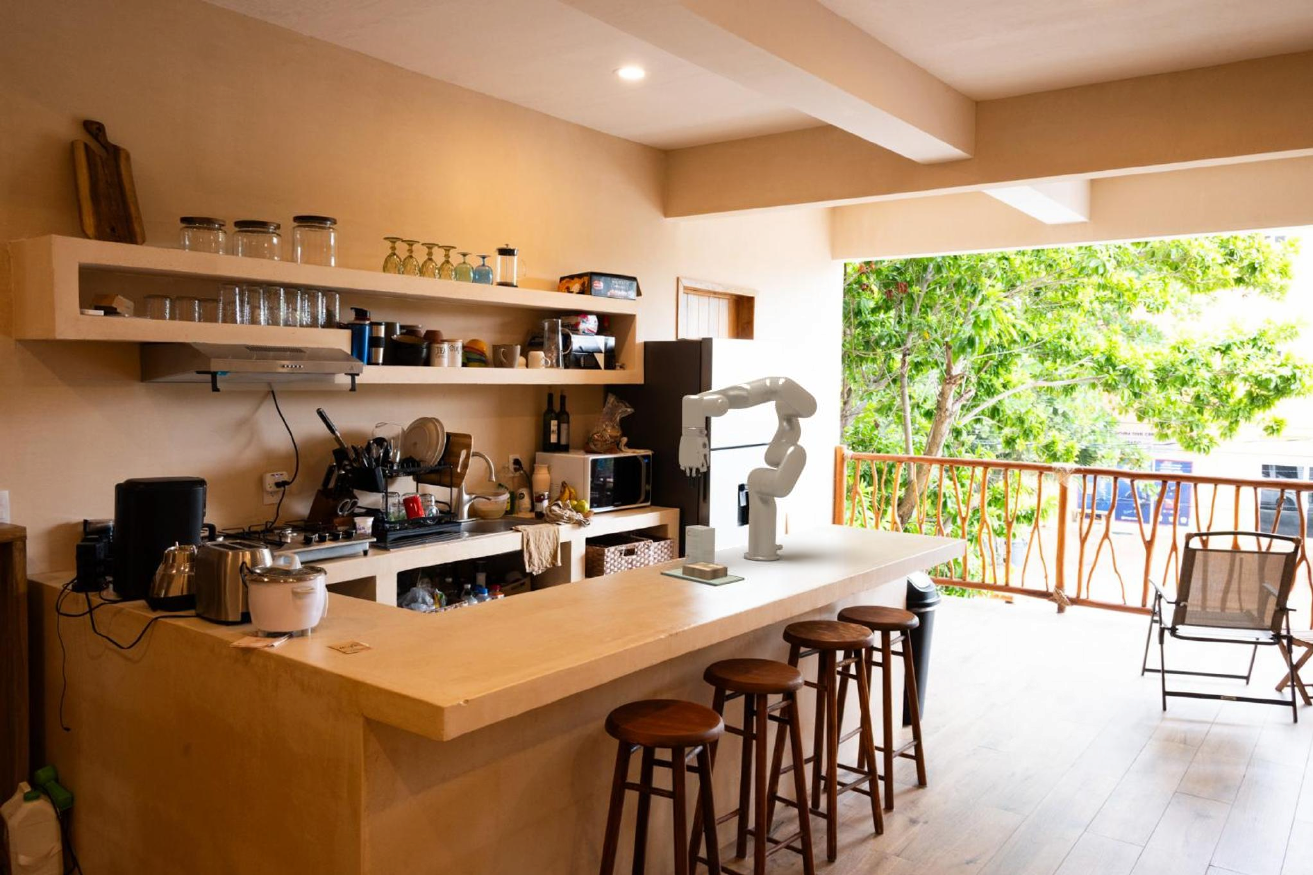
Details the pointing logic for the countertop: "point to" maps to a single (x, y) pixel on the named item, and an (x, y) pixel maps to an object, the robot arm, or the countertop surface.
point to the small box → (700, 544)
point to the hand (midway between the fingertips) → (693, 487)
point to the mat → (715, 582)
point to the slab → (704, 571)
